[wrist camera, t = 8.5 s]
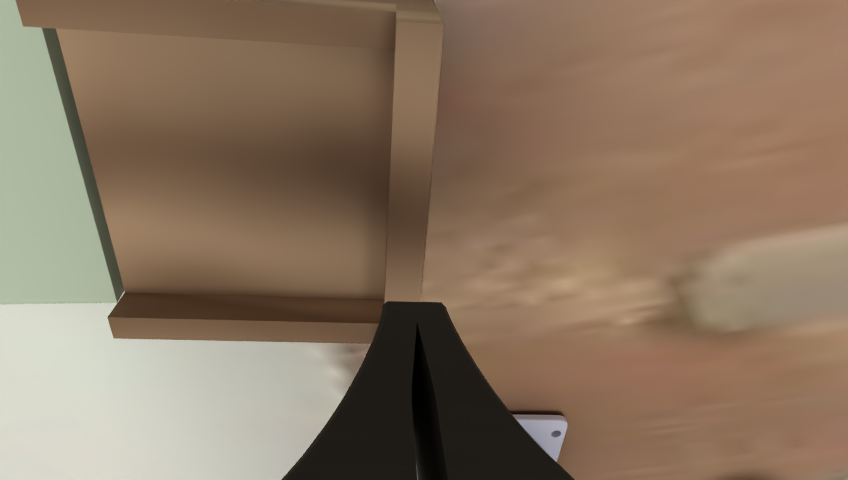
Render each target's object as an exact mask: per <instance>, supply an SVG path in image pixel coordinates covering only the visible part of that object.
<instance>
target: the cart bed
mask: <svg viewBox="0 0 848 480" xmlns="http://www.w3.org/2000/svg"><path fill="white" fill-rule="evenodd" d="M16 4H17V7H18V11H19V14H20V18H21V21H22V24H23V26H24V27H40V28H56V31H57V35H58V39H59V42H60V46H61V50H62V54H63V58H64V61H65V65H66V69H67V73H68V77H69V81H70V84H71V88H72V92H73V96H74V100H75V103H76V107H77V111H78V115H79V119H80V123H81V126H82V130H83V134H84V138H85V142H86V145H87V149H88V153H89V157H90V161H91V165H92V168H93V172H94V176H95V180H96V184H97V187H98V191H99V195H100V199H101V203H102V207H103V210H104V214H105V218H106V222H107V226H108V229H109V233H110V237H111V241H112V245H113V249H114V252H115V256H116V260H117V264H118V268H119V271H120V275H121V279H122V283H123V287H124V291H125V293H124V295H123V296H122V298H121V299H120V300H119V302H118V303H117V305H116V306H115V308H114V309H113V310H112V312H111V313H110V315H109V316H108V320H109V324H110V327H111V331H112V334H113V338H124V339H172V340H220V341H268V342H316V343H363V344H371V343H372V341H373V339H374V336H375V333H376V331H377V328H378V325H379V321H380V318H381V313H382V306H383V304H385V303H386V302H387V301H402V302H421V293H422V281H423V269H424V257H425V245H426V234H427V222H428V210H429V198H430V186H431V174H432V163H433V151H434V139H435V127H436V115H437V103H438V92H439V80H440V68H441V56H442V44H443V32H444V23H443V21H442V19H441V16H440V14H439V12H438V10H437V8H436V5H435V3H434V1H433V0H16Z"/></svg>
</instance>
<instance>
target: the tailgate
mask: <svg viewBox="0 0 848 480" xmlns="http://www.w3.org/2000/svg"><path fill="white" fill-rule="evenodd" d="M123 292H124V287H123V283H122V279H121V275H120V271H119V268H118V264H117V260H116V256H115V252H114V249H113V245H112V241H111V237H110V233H109V229H108V226H107V222H106V218H105V214H104V210H103V207H102V203H101V199H100V195H99V191H98V187H97V184H96V180H95V176H94V172H93V168H92V165H91V161H90V157H89V153H88V149H87V145H86V142H85V138H84V134H83V130H82V126H81V123H80V119H79V115H78V111H77V107H76V103H75V100H74V96H73V92H72V88H71V84H70V81H69V77H68V73H67V69H66V65H65V61H64V58H63V54H62V50H61V46H60V42H59V39H58V35H57V31H56V28H40V27H24V26H23V24H22V21H21V18H20V14H19V11H18V7H17V4H16V0H0V304H57V303H117V302H118V300H119V299H120V297H121V295H122V293H123Z"/></svg>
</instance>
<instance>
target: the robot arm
mask: <svg viewBox="0 0 848 480" xmlns="http://www.w3.org/2000/svg"><path fill="white" fill-rule="evenodd" d="M566 430H567V421H566V419H565V417H563V416H561V415H512V414H511V413H510V411H509V410H508V409H507V408H506V406H505V405H504V404H503V402H502V401H501V400H500V398H499V397H498V396H497V394H496V393H495V392H494V390H493V389H492V387H491V386H490V385H489V383H488V382H487V380H486V379H485V377H484V376H483V374H482V373H481V371H480V370H479V368H478V367H477V365H476V364H475V362H474V360H473V359H472V357H471V356H470V354H469V352H468V351H467V349H466V347H465V346H464V344H463V342H462V340H461V338H460V336H459V335H458V333H457V331H456V329H455V327H454V325H453V323H452V321H451V319H450V317H449V314H448V312H447V310H446V307H445V306H444V305H443V304H442V303H439V302H402V301H387V302H386V303H385V304H383V306H382V313H381V318H380V321H379V325H378V328H377V331H376V333H375V336H374V339H373V341H372V343H371V346H370V348H369V350H368V352H367V354H366V357H365V359H364V361H363V363H362V365H361V367H360V369H359V371H358V373H357V375H356V376H355V378H354V380H353V382H352V384H351V386H350V387H349V389H348V391H347V393H346V394H345V396H344V398H343V399H342V401H341V403H340V404H339V406H338V407H337V409H336V410H335V412H334V413H333V415H332V416H331V418H330V419H329V421H328V422H327V424H326V425H325V427H324V428H323V429H322V431H321V432H320V433H319V435H318V436H317V437H316V439H315V440H314V441H313V443H312V444H311V445H310V447H309V448H308V449H307V451H306V452H305V453H304V454H303V456H302V457H301V458H300V459H299V460H298V462H297V463H296V464H295V465H294V466H293V467H292V469H291V470H290V471H289V472H288V473H287V474H286V475H285V476H284V477H283V479H282V480H574V479H573V478H572V477H571V476H570V475H569V474H568V473H567V472H566V471H565V470H564V469H563V468H562V467H561V466H560V465H559V464H558V463H557V460H558V456H559V453H560V450H561V446H562V443H563V440H564V436H565V433H566Z"/></svg>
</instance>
